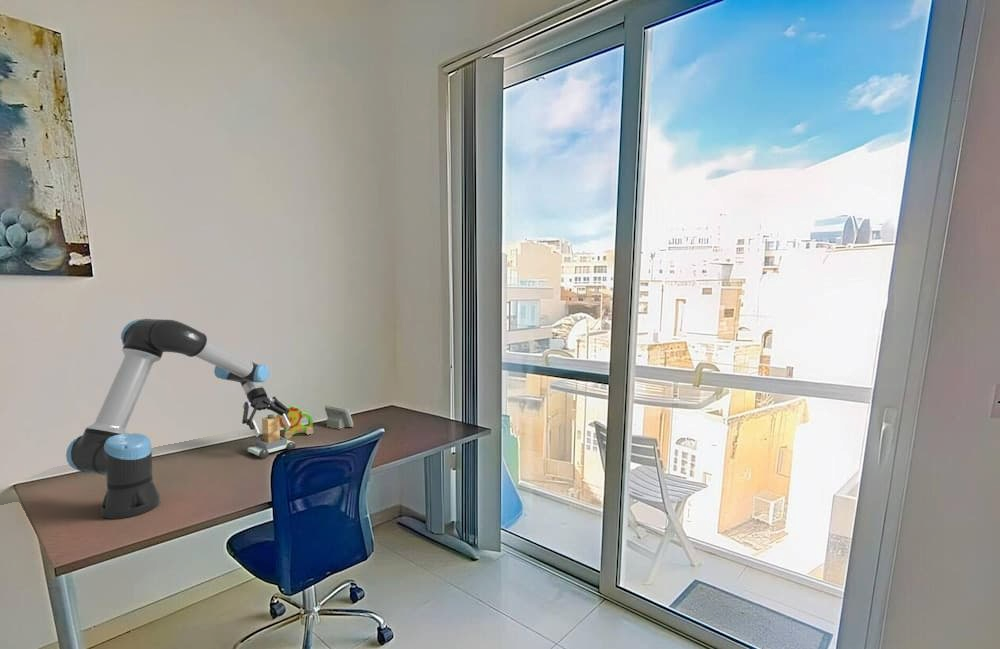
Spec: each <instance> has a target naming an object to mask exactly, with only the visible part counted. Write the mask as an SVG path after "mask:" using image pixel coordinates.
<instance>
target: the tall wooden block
mask: <svg viewBox="0 0 1000 649" xmlns="http://www.w3.org/2000/svg"><path fill="white" fill-rule="evenodd" d="M261 423H262V424H261V427H262V429H261V430H262V432H261V433H262V438H263V442H266V443H270V442H274V441H278V440H280V437H281V432H280V428H281V427H280V424H279V417H277V416H275V415H274V414H268V415H267V416H266V417H263V418H261Z"/></svg>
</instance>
